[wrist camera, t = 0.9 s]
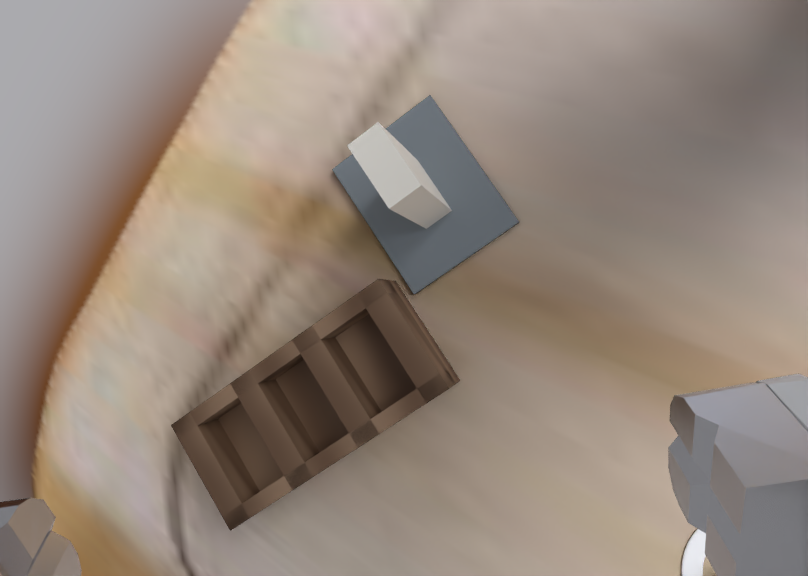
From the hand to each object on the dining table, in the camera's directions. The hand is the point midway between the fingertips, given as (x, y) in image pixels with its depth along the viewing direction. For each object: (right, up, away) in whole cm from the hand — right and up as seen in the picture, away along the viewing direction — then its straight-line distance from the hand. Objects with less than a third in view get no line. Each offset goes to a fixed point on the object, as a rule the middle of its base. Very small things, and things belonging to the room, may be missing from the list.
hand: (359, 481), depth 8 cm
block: (+2, +8, +33) cm, 34 cm away
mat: (+2, +8, +33) cm, 34 cm away
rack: (-5, -5, +34) cm, 35 cm away
